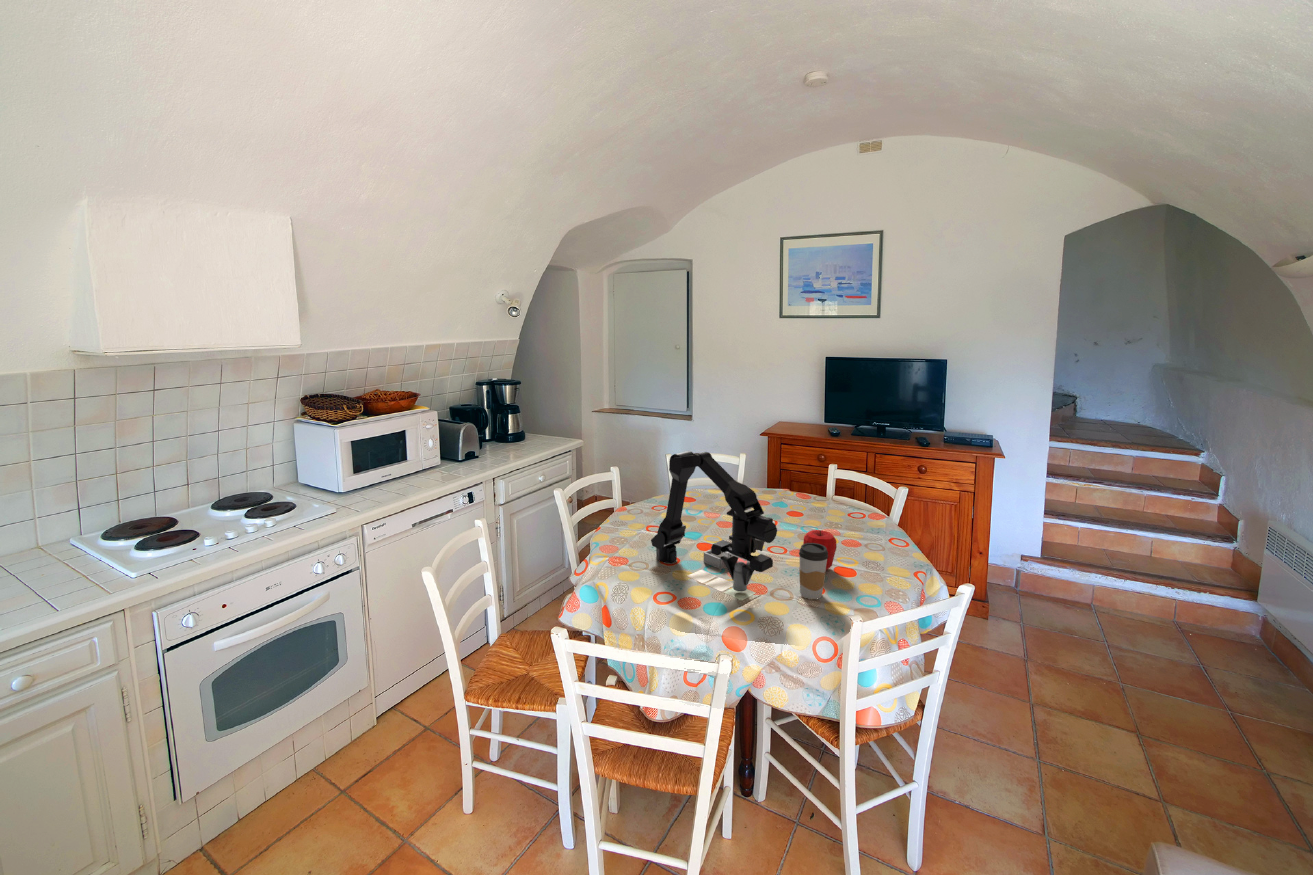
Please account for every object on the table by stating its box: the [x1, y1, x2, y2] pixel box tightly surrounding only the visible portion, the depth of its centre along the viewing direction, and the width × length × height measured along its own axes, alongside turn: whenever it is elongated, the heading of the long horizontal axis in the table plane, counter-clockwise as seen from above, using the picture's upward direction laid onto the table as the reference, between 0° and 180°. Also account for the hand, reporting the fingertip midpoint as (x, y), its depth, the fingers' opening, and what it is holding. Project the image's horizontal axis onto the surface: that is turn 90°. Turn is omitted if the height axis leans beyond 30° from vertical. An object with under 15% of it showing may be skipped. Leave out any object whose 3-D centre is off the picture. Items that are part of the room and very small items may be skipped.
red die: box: [737, 558, 747, 564], centre depth 193 cm, size 4×4×4 cm
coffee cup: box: [798, 543, 828, 600], centre depth 177 cm, size 8×8×15 cm
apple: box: [802, 529, 837, 571], centre depth 194 cm, size 11×10×14 cm
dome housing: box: [703, 548, 727, 570], centre depth 198 cm, size 8×8×4 cm
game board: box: [686, 569, 762, 608], centre depth 183 cm, size 23×10×1 cm, turn 44°
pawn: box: [732, 562, 748, 591], centre depth 176 cm, size 4×4×8 cm
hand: (740, 582), depth 177 cm, fingers open, 4 cm apart
